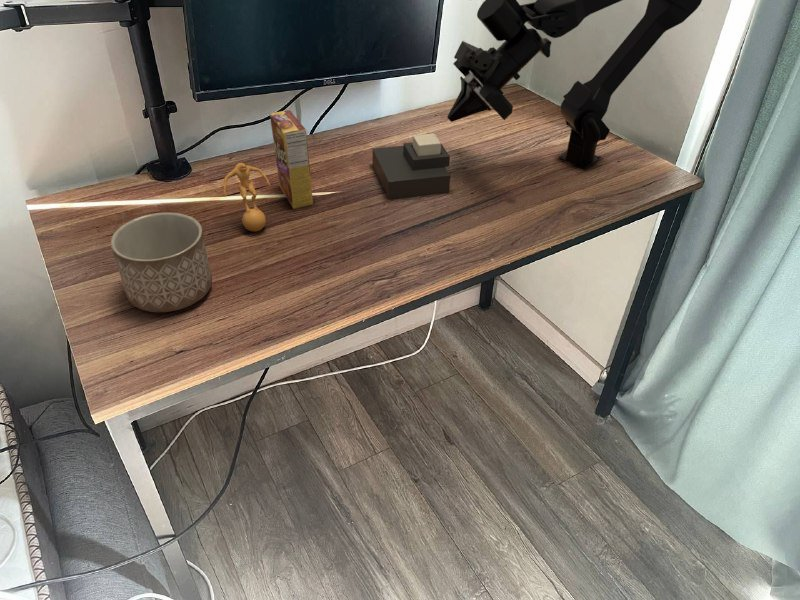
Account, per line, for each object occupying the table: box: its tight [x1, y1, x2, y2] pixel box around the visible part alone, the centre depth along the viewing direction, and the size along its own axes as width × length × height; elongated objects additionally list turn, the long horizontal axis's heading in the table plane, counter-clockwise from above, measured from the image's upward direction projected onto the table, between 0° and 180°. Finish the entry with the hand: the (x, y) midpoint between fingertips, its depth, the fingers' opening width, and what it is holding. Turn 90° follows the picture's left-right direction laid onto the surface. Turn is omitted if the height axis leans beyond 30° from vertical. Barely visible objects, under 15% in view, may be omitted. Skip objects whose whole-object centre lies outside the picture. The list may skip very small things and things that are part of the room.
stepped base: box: [371, 141, 451, 200], centre depth 129 cm, size 13×14×6 cm
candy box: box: [269, 109, 314, 210], centre depth 120 cm, size 9×4×15 cm, turn 25°
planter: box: [110, 212, 213, 313], centre depth 99 cm, size 13×13×10 cm
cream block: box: [412, 133, 442, 156], centre depth 127 cm, size 4×4×3 cm
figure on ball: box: [222, 162, 271, 232], centre depth 113 cm, size 8×6×12 cm
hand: (449, 119), depth 125 cm, fingers closed
